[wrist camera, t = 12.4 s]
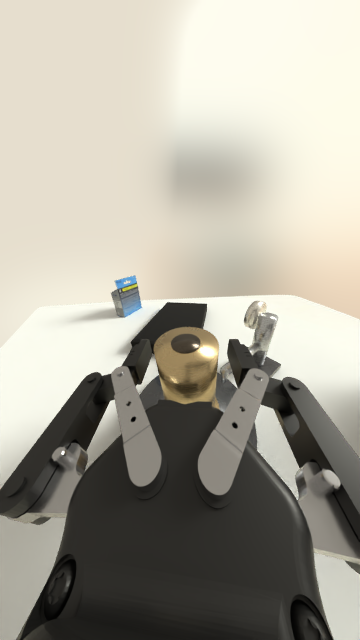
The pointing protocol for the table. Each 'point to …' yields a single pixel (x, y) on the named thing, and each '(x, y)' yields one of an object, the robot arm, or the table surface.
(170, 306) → the external hard drive
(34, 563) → the table surface
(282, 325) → the table surface
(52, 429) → the robot arm
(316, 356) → the table surface
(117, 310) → the label tape box
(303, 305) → the table surface
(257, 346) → the dial gauge stand
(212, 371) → the brass cover
